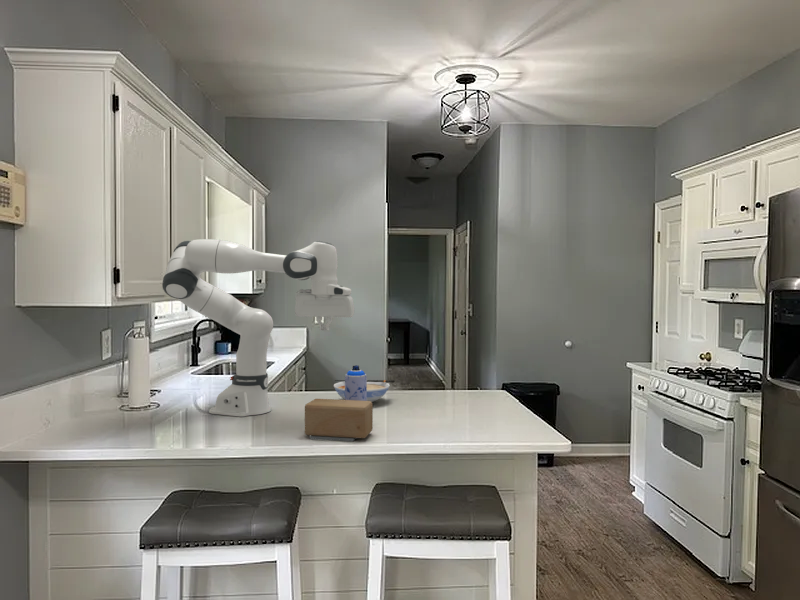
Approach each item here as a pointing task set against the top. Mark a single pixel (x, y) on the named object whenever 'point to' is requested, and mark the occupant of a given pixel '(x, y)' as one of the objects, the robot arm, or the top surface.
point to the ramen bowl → (373, 388)
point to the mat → (332, 438)
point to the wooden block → (339, 418)
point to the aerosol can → (356, 384)
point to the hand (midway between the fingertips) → (324, 330)
